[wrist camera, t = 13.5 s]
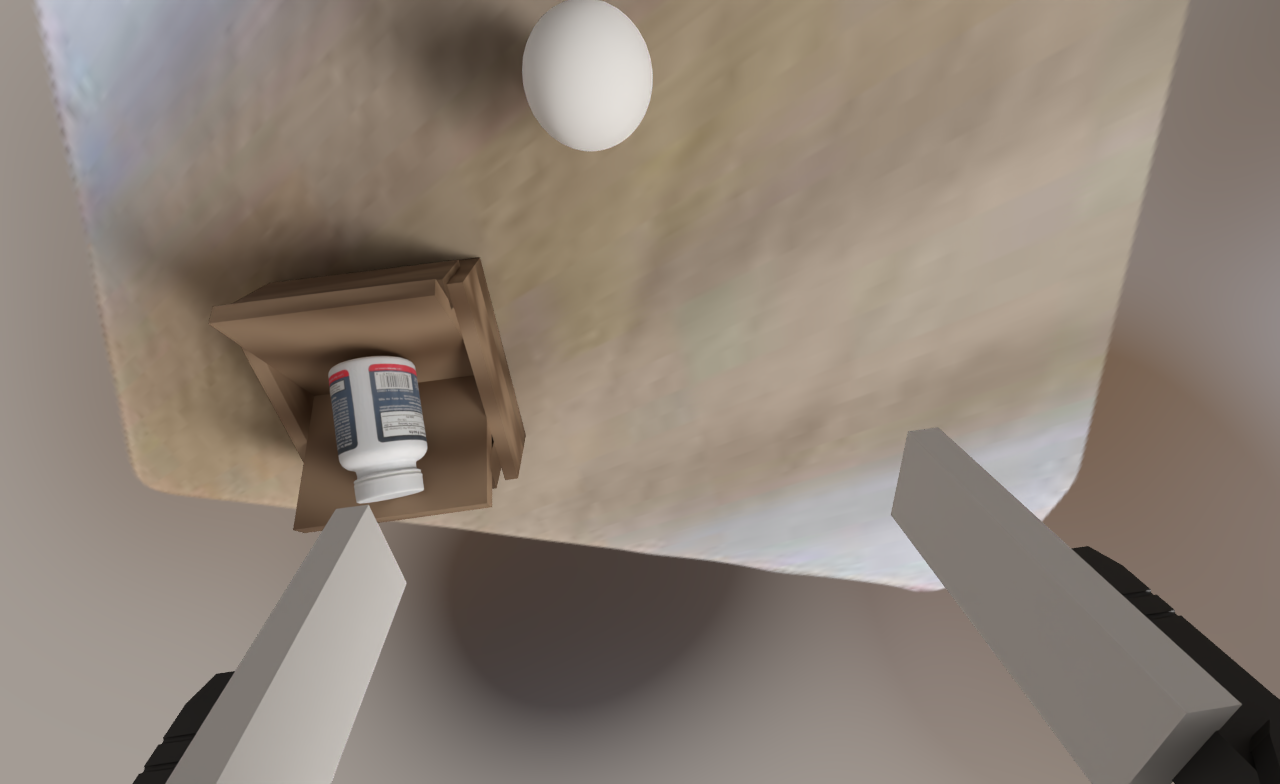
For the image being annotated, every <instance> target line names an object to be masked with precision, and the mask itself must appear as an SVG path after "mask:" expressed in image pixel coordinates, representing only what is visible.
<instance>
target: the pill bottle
mask: <svg viewBox="0 0 1280 784" xmlns="http://www.w3.org/2000/svg"><path fill="white" fill-rule="evenodd" d="M328 377H329V387H330V395H331V403H332V410H333V419H334V427H335V435H336V443H337V451H338V457H339V462H340V464H341V465H342V467H344V468H345V469H347V470H349V471H354V472H356V474H357V480H355V481H354V484H355V485H354V489H355V496H356V502H357V503H370V502H377V501H383V500H388V499H394V498H399V497H403V496H407V495H411V494H415V493H418V492H421V491H423V490H424V484H423V474H422V473H421V470H420V469H417V467H416V461H418V460H419V459H421V458H422V457H423V456H424V455H425V453H426V452H427V439H426V433H425V427H424V421H423V414H422V407H421V401H420V395H419V388H418V381H417V374H416V369H415V366H414V364H413V363H412V362H411V361H409V360H407V359H404V358H401V357H394V356H370V357H362V358H356V359H352V360H348V361H344V362H341V363H339V364H337V365H335V366H334V367H332V368H331V369H330V371H329V374H328Z"/></svg>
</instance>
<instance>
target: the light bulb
mask: <svg viewBox="0 0 1280 784" xmlns="http://www.w3.org/2000/svg"><path fill="white" fill-rule="evenodd" d="M522 77H523V87H524V91H525V94H526V98H527V102H528V104H529V106H530V108H531V110H532V112H533V115H534V116H535V118H536V119H537V121H538V122H539V123H540V125H541V126H542V127H543V128H544V129H545V130H546V131H547V132H548V134H549V135H550V136H552V137H553V138H554V139H556V140H557V141H559V142H560V143H562V144H564V145H566V146H568V147H571V148H573V149H577V150H582V151H600V150H604V149H609V148H611V147H613V146H615V145H617V144H619V143H621V142H622V141H623V140H625V139H626V138H627V137H629V136H630V135H631V134H632V133H633V131H634V130H635V129H636V128H637V127H638V126H639V124H640V122H641V120H642V119H643V117H644V115H645V113H646V110H647V108H648V105H649V102H650V98H651V92H652V81H653V71H652V65H651V59H650V55H649V52H648V49H647V46H646V43H645V41H644V39H643V37H642V35H641V34H640V32H639V30H638V29H637V27H636V26H635V25H634V24H633V22H632V21H631V20H630V19H629V18H628V17H627V16H626V15H625V14H624V13H622V12H621V11H620V10H619V9H618V8H616V7H614V6H612V5H610V4H608V3H606V2H604V1H600V0H567V1H564V2H562V3H560V4H558V5H556V6H554V7H552V8H551V9H550V10H549V11H548V12H547V13H545V14H544V15H543V16H542V17H541V18H540V20H539V21H538V22H537V24H536V25H535V26H534V28H533V30H532V32H531V34H530V36H529V38H528V40H527V43H526V47H525V51H524V55H523V64H522Z"/></svg>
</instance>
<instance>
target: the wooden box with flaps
mask: <svg viewBox="0 0 1280 784" xmlns="http://www.w3.org/2000/svg"><path fill="white" fill-rule="evenodd" d="M208 324H210V325H211V326H212V327H214V328H215V329H217V330H218V331H220V332H221V333H223V334H224V335H226V336H227V337H229V338H230V339H231V340H233V341H234V342H236V343H237V344H239V345H240V346H241V348H242V350H243V352H244V354H245V356H246V357H247V359H248V361H249V363H250V365H251V367H252V368H253V370H254V372H255V374H256V376H257V378H258V379H259V381H260V383H261V385H262V387H263V389H264V391H265V392H266V394H267V396H268V398H269V400H270V402H271V403H272V405H273V407H274V409H275V411H276V413H277V414H278V416H279V418H280V420H281V422H282V424H283V426H284V427H285V429H286V431H287V433H288V435H289V437H290V438H291V440H292V442H293V444H294V446H295V448H296V450H297V451H298V453H299V455H300V457H301V459H302V461H303V462H304V465H303V471H302V477H301V484H300V490H299V496H298V503H297V509H296V516H295V522H294V528H293V530H295V531H299V532H303V533H308V532H316V531H323V529H324V527H325V526H326V524H327V523H328V521H329V519H330V518H331V516H332V515H333V513H334V511H335V510H336V509H340V508H347V507H354V506H362V505H369V506H370V509H371V511H372V513H373V515H374V517H375V519H376V521H377V523H380V522H388V521H395V520H402V519H409V518H417V517H424V516H431V515H438V514H446V513H453V512H460V511H467V510H474V509H482V508H489V507H492V489H494V488H497V484H498V479H499V475H500V471H501V468H502V471H503V474H504V478H505V480H509V479H517V478H518V475H519V469H520V464H521V458H522V453H523V448H524V442H525V437H526V435H525V431H524V427H523V423H522V419H521V415H520V411H519V408H518V404H517V400H516V396H515V392H514V388H513V384H512V380H511V376H510V373H509V369H508V365H507V361H506V357H505V353H504V349H503V345H502V342H501V338H500V334H499V330H498V326H497V322H496V318H495V314H494V310H493V307H492V303H491V299H490V295H489V291H488V287H487V283H486V279H485V276H484V272H483V268H482V264H481V260H480V258H473V259H465V260H453V261H444V262H436V263H428V264H420V265H412V266H404V267H396V268H387V269H379V270H371V271H363V272H355V273H347V274H339V275H330V276H322V277H314V278H306V279H298V280H290V281H281V282H273V283H268V284H267V285H265V286H263V287H261V288H259V289H258V290H256V291H254V292H252V293H250V294H249V295H247V296H245V297H243V298H241V299H240V300H238V301H236V302H234V303H232V304H229V305H220V306H213V308H212V312H211V315H210V319H209V323H208ZM370 356H394V357H401V358H404V359H407V360H409V361H411V362H412V363H413V364H414V366H415V369H416V374H417V381H418V388H419V395H420V401H421V407H422V414H423V421H424V427H425V433H426V439H427V452H426V453H425V455H424V456H423V457H422V458H421V459H419V460H418V461H416V467H417V469H420V470H421V473H422V474H423V484H424V490H423V491H421V492H418V493H415V494H411V495H407V496H403V497H399V498H394V499H388V500H383V501H377V502H370V503H357V502H356V496H355V489H354V485H355V484H354V481H355V480H357V474H356V472H354V471H349V470H347V469H345V468H344V467H342V465H341V464H340V462H339V457H338V451H337V443H336V435H335V427H334V419H333V410H332V403H331V395H330V387H329V377H328V374H329V371H330V369H331V368H332V367H334V366H335V365H337V364H339V363H341V362H344V361H348V360H352V359H356V358H362V357H370Z"/></svg>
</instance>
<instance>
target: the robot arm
mask: <svg viewBox="0 0 1280 784" xmlns="http://www.w3.org/2000/svg"><path fill="white" fill-rule="evenodd" d="M891 516H892V517H893V518H894V520H895V521H896V522H897V524H898V525H899V526H900V528H901V529H902V530H903V532H904V533H905V534H906V536H907V537H908V538H909V540H910V541H911V542H912V544H913V545H914V546H915V548H916V549H917V550H918V552H919V553H920V554H921V556H922V557H923V558H924V560H925V561H926V562H927V564H928V565H929V566H930V568H931V569H932V570H933V572H934V573H935V574H936V576H937V577H938V578H939V580H940V581H941V582H942V584H943V585H944V587H945V588H946V589H947V591H948V592H949V593H950V594H951V596H952V597H953V599H954V600H955V601H956V602H957V604H958V605H959V607H960V608H961V609H962V610H963V612H964V613H965V615H966V616H967V617H968V619H969V620H970V621H971V623H972V624H973V625H974V627H975V628H976V629H977V631H978V632H979V633H980V635H981V636H982V637H983V639H984V640H985V641H986V643H987V644H988V645H989V647H990V648H991V649H992V651H993V652H994V653H995V655H996V656H997V657H998V659H999V660H1000V662H1001V663H1002V664H1003V665H1004V667H1005V668H1006V670H1007V671H1008V672H1009V674H1010V675H1011V676H1012V677H1013V679H1014V680H1015V682H1016V683H1017V684H1018V685H1019V687H1020V688H1021V690H1022V691H1023V692H1024V694H1026V696H1027V698H1028V699H1029V700H1030V702H1031V703H1032V704H1033V706H1034V707H1035V708H1036V710H1037V711H1038V712H1039V714H1040V715H1041V716H1042V718H1043V719H1044V720H1045V722H1046V723H1047V724H1048V726H1049V727H1050V728H1051V730H1052V731H1053V733H1054V734H1055V735H1056V737H1057V738H1058V739H1059V741H1060V742H1061V743H1062V745H1063V746H1064V747H1065V748H1066V750H1067V751H1068V753H1069V754H1070V755H1071V756H1072V758H1073V759H1074V761H1075V762H1076V763H1077V765H1078V766H1079V767H1080V769H1081V770H1082V771H1083V772H1084V774H1085V775H1086V777H1087V778H1088V779H1089V781H1090V782H1091V783H1092V784H1171V783H1172V782H1174V783H1175V784H1280V699H1278V698H1277V697H1276V696H1275V695H1273V694H1272V693H1271V692H1270V691H1269V690H1267V689H1266V688H1265V687H1264V686H1263V685H1262V684H1260V683H1259V682H1258V681H1257V680H1256V679H1255V678H1253V677H1252V676H1251V675H1250V674H1249V673H1248V672H1246V671H1245V670H1244V669H1243V668H1242V667H1240V666H1239V665H1238V664H1237V663H1236V662H1235V661H1233V660H1232V659H1231V658H1230V657H1229V656H1228V655H1227V654H1225V653H1224V652H1223V651H1222V650H1221V649H1220V648H1218V647H1217V646H1216V645H1215V644H1214V643H1213V642H1211V641H1210V640H1209V639H1208V638H1207V637H1206V636H1204V635H1203V634H1202V633H1201V632H1200V631H1198V630H1197V629H1196V628H1195V627H1194V626H1193V625H1191V624H1190V623H1189V622H1188V621H1186V619H1184V618H1183V617H1182V616H1178V615H1176V614H1175V610H1174V609H1173V608H1171V607H1170V606H1169V605H1168V604H1167V603H1166V602H1165V601H1163V600H1162V599H1161V598H1160V597H1159V596H1158V595H1153V594H1152V593H1151V589H1149V588H1148V587H1147V586H1146V585H1145V584H1143V583H1142V582H1141V581H1140V580H1139V579H1138V578H1137V577H1135V576H1134V575H1133V574H1132V573H1131V572H1130V571H1128V570H1127V569H1126V568H1125V567H1124V566H1122V565H1121V564H1119V563H1117V562H1115V561H1114V560H1112V559H1110V558H1108V557H1107V556H1104V555H1103V554H1101V553H1099V552H1098V551H1096V550H1094V549H1092V548H1090V547H1088V546H1086V547H1079V548H1072V549H1071V548H1070V547H1069V546H1068V545H1067V544H1066V543H1064V542H1063V541H1062V540H1061V539H1060V538H1059V537H1058V536H1057V535H1056V534H1055V533H1053V532H1052V531H1051V530H1050V529H1049V528H1048V527H1047V526H1046V525H1045V524H1044V523H1043V522H1041V521H1040V520H1039V519H1038V518H1037V517H1036V516H1035V515H1034V514H1033V513H1032V512H1030V511H1029V510H1028V509H1027V508H1026V507H1025V506H1024V505H1023V504H1022V503H1021V502H1020V501H1018V500H1017V499H1016V498H1015V497H1014V496H1013V495H1012V494H1011V493H1010V492H1009V491H1007V490H1006V489H1005V488H1004V487H1003V486H1002V485H1001V484H1000V483H999V482H998V481H996V480H995V479H994V478H993V477H992V476H991V475H990V474H989V473H988V472H987V471H986V470H984V469H983V468H982V467H981V466H980V465H979V464H978V463H977V462H976V461H975V460H973V459H972V458H971V457H970V456H969V455H968V454H967V453H966V452H965V451H964V450H962V449H961V448H960V447H959V446H958V445H957V444H956V443H955V442H954V441H953V440H952V439H950V438H949V437H948V436H947V435H946V434H945V433H944V432H943V431H942V430H941V429H939V428H930V429H923V430H915V431H908V434H907V438H906V443H905V448H904V453H903V458H902V463H901V468H900V473H899V478H898V482H897V487H896V492H895V497H894V502H893V507H892V512H891ZM405 586H406V581H405V579H404V577H403V575H402V573H401V570H400V568H399V566H398V564H397V562H396V560H395V558H394V556H393V554H392V552H391V550H390V548H389V546H388V544H387V542H386V539H385V537H384V535H383V533H382V531H381V529H380V527H379V525H378V523H377V521H376V519H375V517H374V515H373V513H372V511H371V509H370V506H369V505H362V506H354V507H347V508H340V509H336V510H335V511H334V513H333V515H332V516H331V518H330V519H329V521H328V523H327V524H326V526H325V527H324V529H323V531H322V532H321V534H320V535H319V537H318V539H317V540H316V542H315V544H314V545H313V547H312V548H311V550H310V552H309V553H308V555H307V556H306V558H305V560H304V561H303V563H302V565H301V566H300V568H299V569H298V571H297V573H296V574H295V576H294V577H293V579H292V581H291V582H290V584H289V585H288V587H287V589H286V590H285V592H284V593H283V595H282V597H281V598H280V600H279V601H278V603H277V605H276V606H275V608H274V609H273V611H272V613H271V614H270V616H269V618H268V619H267V621H266V622H265V624H264V626H263V627H262V629H261V630H260V632H259V634H258V635H257V637H256V639H255V640H254V642H253V643H252V645H251V647H250V648H249V650H248V651H247V653H246V655H245V656H244V658H243V659H242V661H241V663H240V664H239V666H238V667H237V669H236V671H233V672H226V673H220V674H216V675H215V676H214V677H213V678H212V679H211V680H210V681H209V682H208V683H207V684H206V685H205V686H204V687H203V688H202V689H201V690H200V691H199V692H197V693H196V694H195V695H194V696H193V697H192V698H191V699H190V700H189V701H188V702H187V703H186V705H185V706H184V708H183V709H182V710H181V712H180V713H179V715H178V716H177V718H176V719H175V721H174V722H173V724H172V725H171V727H170V729H169V730H168V732H167V733H166V735H165V736H164V737H163V739H164V741H163V743H162V744H160V745H158V746H157V748H156V749H155V751H154V752H153V754H152V755H151V757H150V758H149V760H148V761H147V763H146V764H145V766H144V767H145V770H144V772H143V773H141V774H139V775H138V776H137V778H136V779H135V781H134V782H133V784H331V782H332V780H333V777H334V774H335V772H336V769H337V766H338V763H339V761H340V758H341V756H342V753H343V750H344V748H345V745H346V742H347V740H348V737H349V734H350V731H351V729H352V726H353V724H354V721H355V718H356V716H357V713H358V710H359V708H360V705H361V702H362V700H363V697H364V695H365V692H366V689H367V686H368V684H369V681H370V679H371V676H372V673H373V671H374V668H375V665H376V663H377V660H378V657H379V655H380V651H381V649H382V647H383V644H384V641H385V639H386V636H387V634H388V631H389V628H390V626H391V623H392V620H393V617H394V615H395V612H396V610H397V607H398V604H399V602H400V599H401V596H402V594H403V591H404V588H405Z"/></svg>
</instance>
